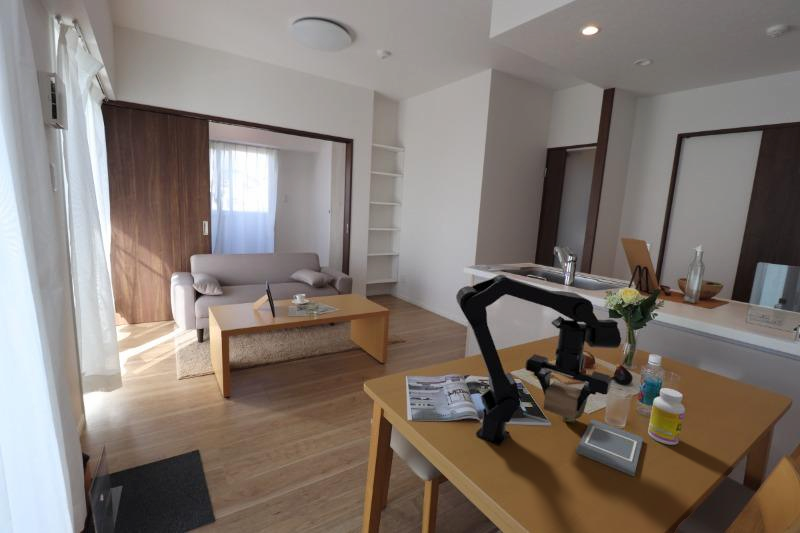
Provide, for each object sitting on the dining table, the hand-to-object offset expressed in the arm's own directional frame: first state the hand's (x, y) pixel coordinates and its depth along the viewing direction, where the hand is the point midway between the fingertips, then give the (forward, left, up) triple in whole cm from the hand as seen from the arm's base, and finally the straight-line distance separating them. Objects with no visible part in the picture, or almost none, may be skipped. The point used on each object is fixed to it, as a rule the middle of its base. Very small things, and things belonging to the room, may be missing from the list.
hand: (562, 404), depth 93 cm
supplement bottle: (+20, -21, -10) cm, 30 cm away
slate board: (+6, -11, -9) cm, 15 cm away
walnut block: (0, 0, -1) cm, 1 cm away
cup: (+11, 0, -10) cm, 14 cm away
